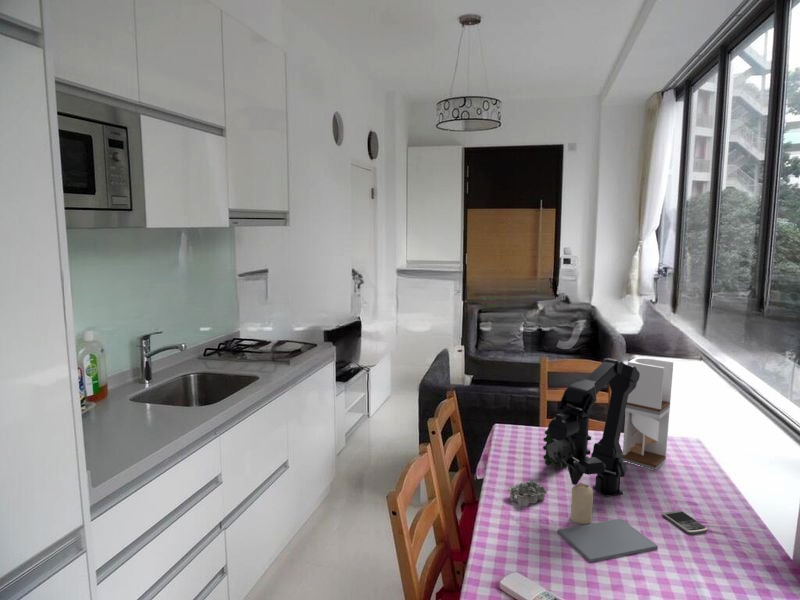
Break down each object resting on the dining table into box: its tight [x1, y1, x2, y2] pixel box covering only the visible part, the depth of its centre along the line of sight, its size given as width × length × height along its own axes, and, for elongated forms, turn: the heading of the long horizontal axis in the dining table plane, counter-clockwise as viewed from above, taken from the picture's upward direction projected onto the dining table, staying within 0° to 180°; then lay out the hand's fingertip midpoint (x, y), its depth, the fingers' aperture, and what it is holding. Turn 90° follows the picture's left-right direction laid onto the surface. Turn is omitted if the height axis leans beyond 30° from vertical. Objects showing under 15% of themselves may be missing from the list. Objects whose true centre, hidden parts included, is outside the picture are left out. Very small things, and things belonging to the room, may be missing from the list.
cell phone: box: [661, 509, 708, 535], centre depth 159 cm, size 6×11×1 cm, turn 15°
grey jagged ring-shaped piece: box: [507, 479, 549, 507], centre depth 172 cm, size 11×8×4 cm
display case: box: [622, 356, 674, 471], centre depth 196 cm, size 11×11×35 cm
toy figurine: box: [542, 416, 568, 469], centre depth 197 cm, size 9×19×25 cm
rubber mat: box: [557, 517, 659, 563], centre depth 150 cm, size 20×14×1 cm
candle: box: [570, 482, 594, 525], centre depth 159 cm, size 6×6×10 cm
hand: (574, 484), depth 162 cm, fingers closed
